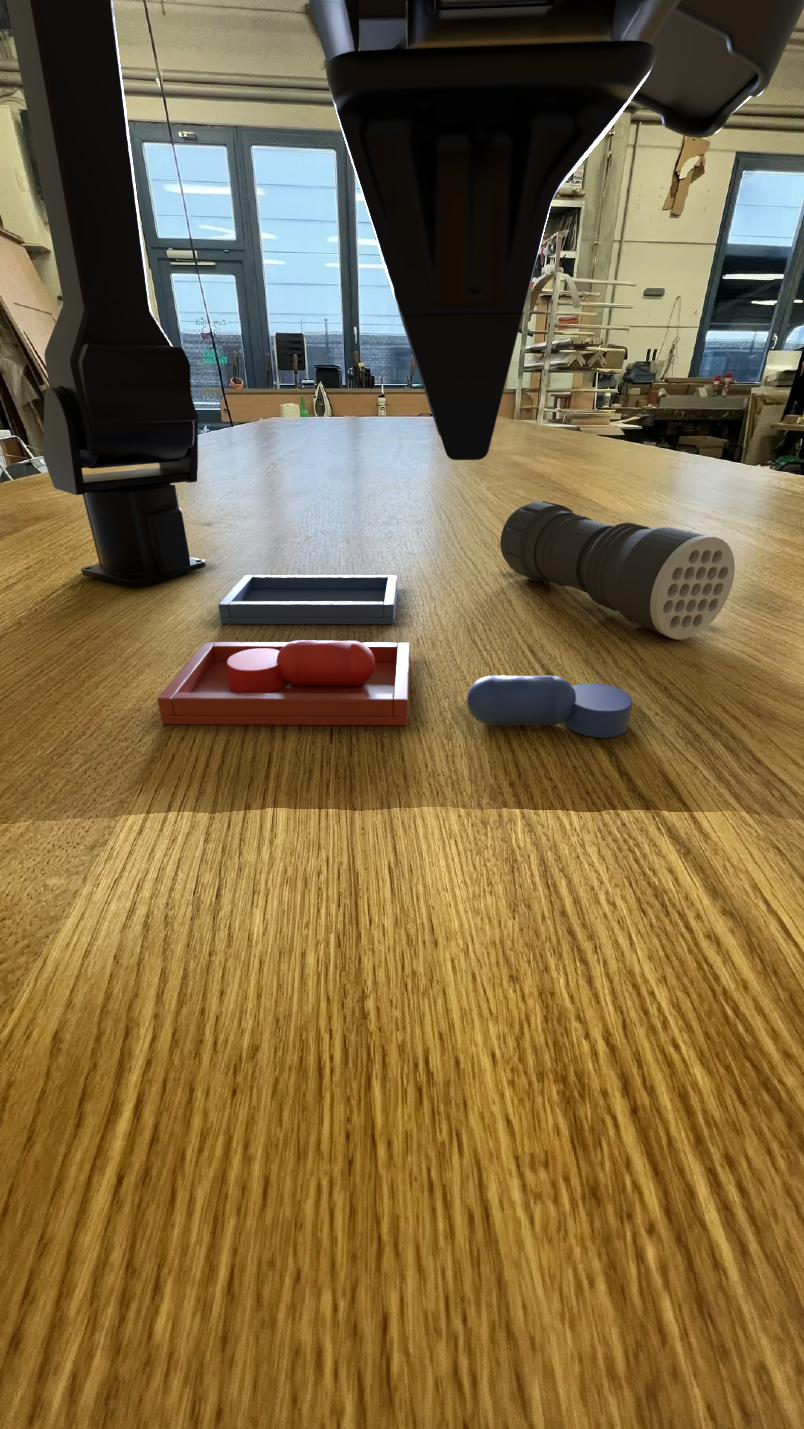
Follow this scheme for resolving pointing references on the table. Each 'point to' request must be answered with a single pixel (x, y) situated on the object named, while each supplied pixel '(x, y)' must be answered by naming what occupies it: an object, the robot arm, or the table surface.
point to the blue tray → (311, 600)
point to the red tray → (287, 693)
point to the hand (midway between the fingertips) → (458, 446)
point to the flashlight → (624, 566)
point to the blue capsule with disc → (550, 704)
